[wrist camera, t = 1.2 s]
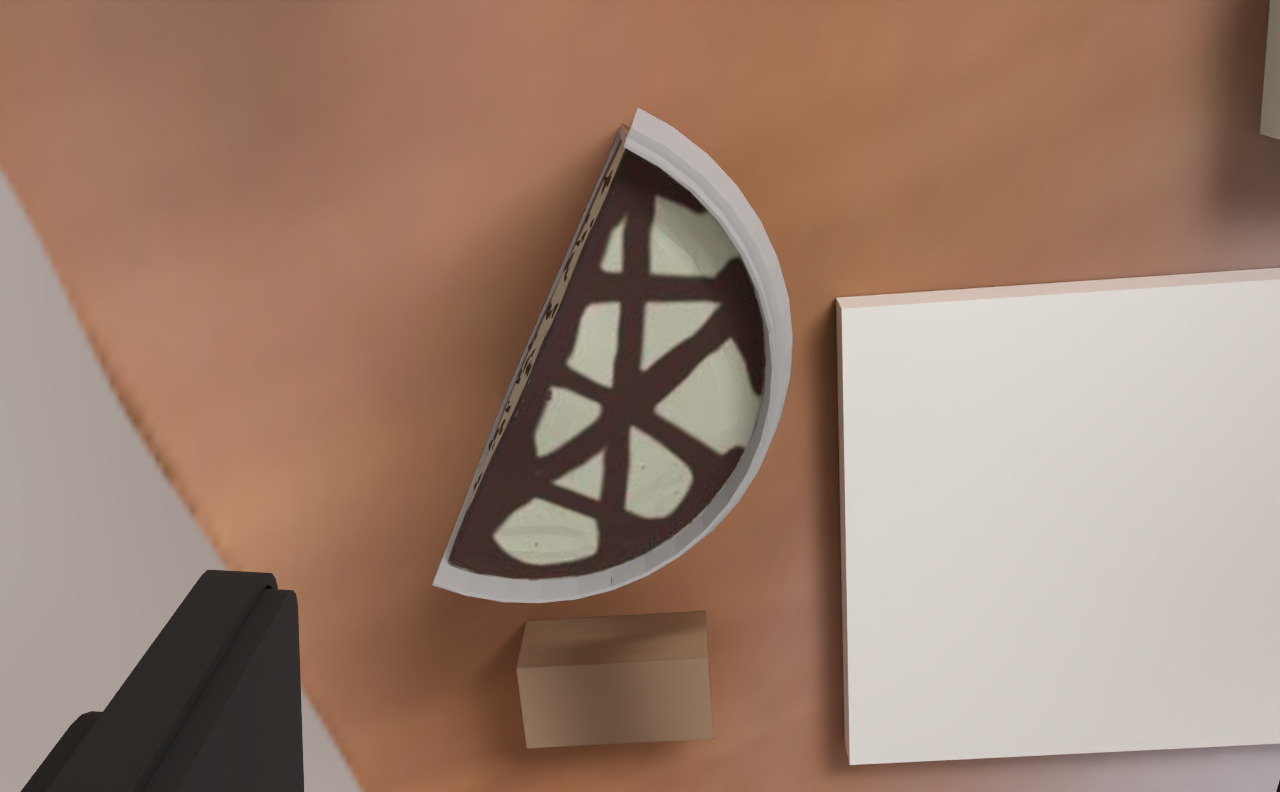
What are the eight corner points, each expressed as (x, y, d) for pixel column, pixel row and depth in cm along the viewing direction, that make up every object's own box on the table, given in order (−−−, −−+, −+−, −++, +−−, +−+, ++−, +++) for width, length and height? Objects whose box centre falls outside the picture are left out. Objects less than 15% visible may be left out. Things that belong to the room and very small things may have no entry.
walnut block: (705, 608, 39) (707, 658, 37) (709, 684, 40) (713, 738, 38) (526, 618, 40) (516, 668, 37) (536, 693, 41) (526, 748, 38)
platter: (1417, 258, 35) (1442, 268, 34) (1346, 717, 40) (1366, 739, 39) (836, 297, 35) (841, 308, 34) (844, 742, 41) (849, 764, 40)
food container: (661, 515, 38) (660, 696, 29) (484, 442, 37) (423, 603, 28) (837, 164, 34) (903, 241, 25) (643, 74, 33) (635, 118, 24)
